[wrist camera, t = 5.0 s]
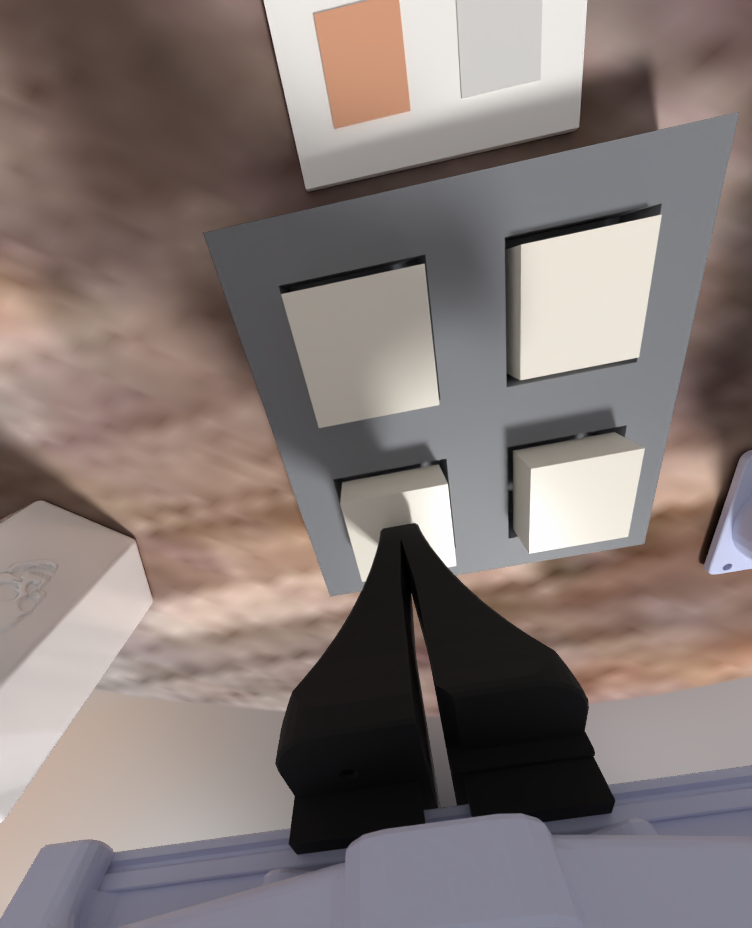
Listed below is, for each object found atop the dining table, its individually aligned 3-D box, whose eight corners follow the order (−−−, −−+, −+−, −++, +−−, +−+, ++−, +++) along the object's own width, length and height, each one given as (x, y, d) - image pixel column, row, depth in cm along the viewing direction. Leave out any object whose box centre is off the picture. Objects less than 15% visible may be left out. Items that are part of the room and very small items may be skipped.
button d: (438, 464, 14) (448, 483, 12) (447, 540, 15) (456, 565, 14) (342, 482, 14) (340, 503, 12) (362, 555, 16) (361, 582, 14)
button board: (661, 150, 11) (738, 112, 9) (607, 511, 18) (644, 543, 16) (233, 244, 12) (203, 232, 10) (334, 559, 19) (330, 596, 16)
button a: (623, 224, 11) (661, 214, 10) (607, 350, 13) (639, 357, 11) (500, 251, 11) (521, 244, 10) (502, 371, 13) (520, 380, 12)
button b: (614, 432, 13) (644, 448, 12) (602, 514, 15) (628, 536, 14) (513, 450, 13) (530, 469, 12) (513, 529, 15) (529, 553, 14)
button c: (415, 268, 11) (424, 263, 9) (430, 392, 12) (439, 405, 11) (291, 294, 11) (281, 294, 9) (323, 413, 12) (318, 428, 11)
